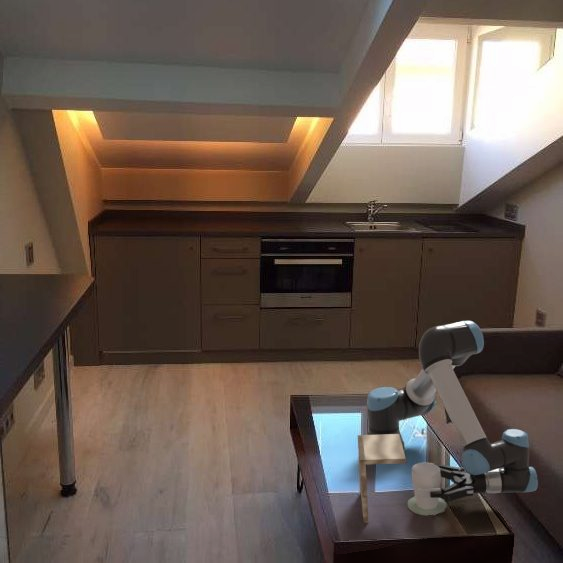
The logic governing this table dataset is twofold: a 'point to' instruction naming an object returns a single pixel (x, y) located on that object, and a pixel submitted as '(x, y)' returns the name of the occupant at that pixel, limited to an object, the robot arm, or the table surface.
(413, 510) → the mat
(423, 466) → the cup
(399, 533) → the table surface
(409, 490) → the table surface
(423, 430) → the table surface
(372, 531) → the table surface
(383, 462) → the shelf
